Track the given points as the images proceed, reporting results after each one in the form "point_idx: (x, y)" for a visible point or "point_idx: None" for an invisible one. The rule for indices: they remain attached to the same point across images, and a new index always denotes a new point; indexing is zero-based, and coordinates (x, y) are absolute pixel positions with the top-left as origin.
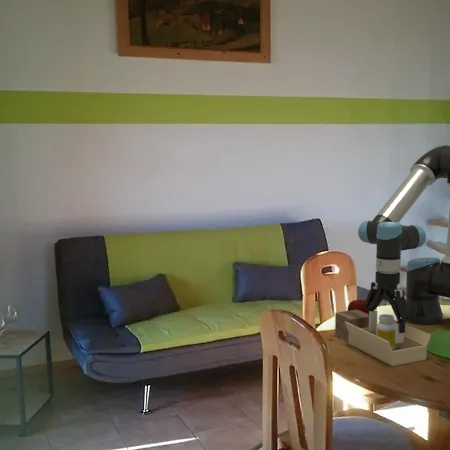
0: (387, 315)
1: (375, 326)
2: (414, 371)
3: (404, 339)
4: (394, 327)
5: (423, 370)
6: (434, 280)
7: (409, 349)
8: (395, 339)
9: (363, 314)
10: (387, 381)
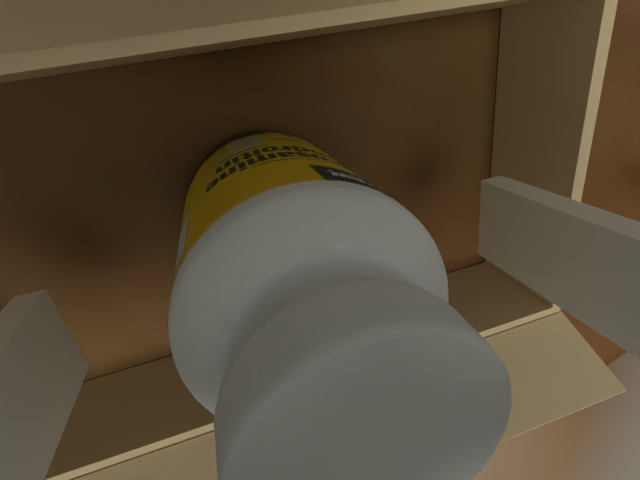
0: (332, 437)
1: (34, 337)
2: (592, 187)
3: (297, 33)
4: (442, 265)
5: (610, 132)
6: None
7: (578, 177)
8: (500, 266)
9: None
10: (592, 337)
